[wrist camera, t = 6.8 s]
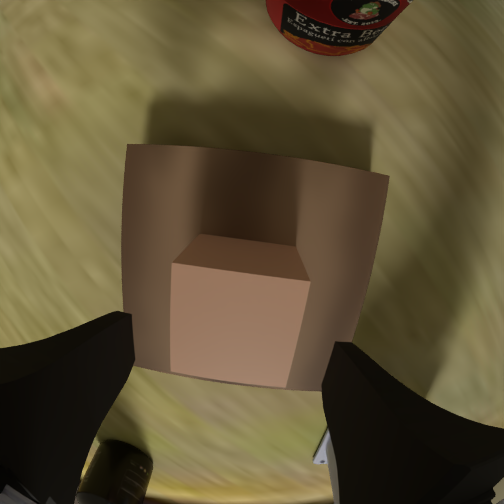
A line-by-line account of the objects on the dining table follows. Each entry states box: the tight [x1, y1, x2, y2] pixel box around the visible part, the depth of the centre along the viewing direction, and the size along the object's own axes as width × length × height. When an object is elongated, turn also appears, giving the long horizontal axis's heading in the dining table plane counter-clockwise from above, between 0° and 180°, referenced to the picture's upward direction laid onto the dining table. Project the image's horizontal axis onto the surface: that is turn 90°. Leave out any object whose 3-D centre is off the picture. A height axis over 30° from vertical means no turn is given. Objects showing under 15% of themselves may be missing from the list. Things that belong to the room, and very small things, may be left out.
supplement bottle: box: [76, 440, 153, 504], centre depth 20 cm, size 7×7×12 cm
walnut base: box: [121, 144, 390, 391], centre depth 17 cm, size 14×14×3 cm
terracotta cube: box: [170, 234, 311, 388], centre depth 13 cm, size 5×5×5 cm
